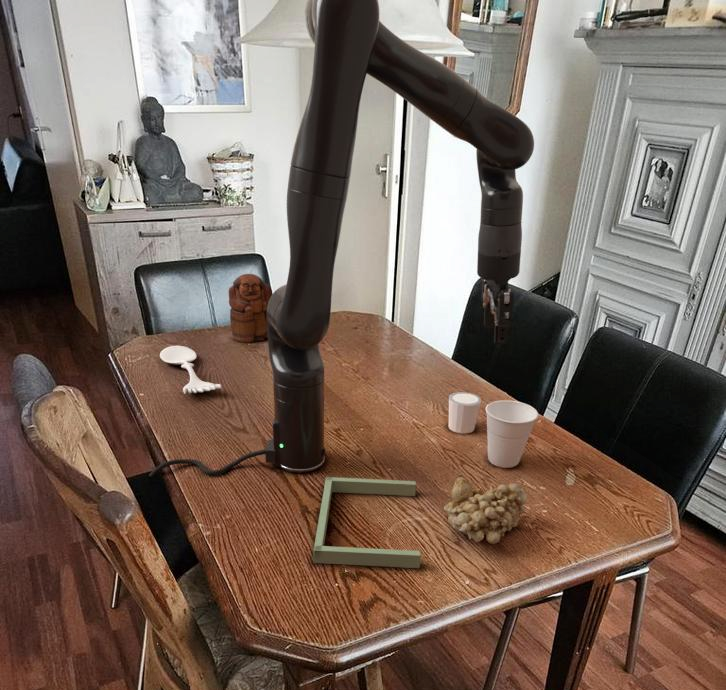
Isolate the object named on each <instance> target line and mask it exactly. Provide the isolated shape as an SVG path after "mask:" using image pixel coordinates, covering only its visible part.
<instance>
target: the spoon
mask: <svg viewBox="0 0 726 690" xmlns="http://www.w3.org/2000/svg"><path fill="white" fill-rule="evenodd" d="M159 357H160V359H161V360H162V361H163V362H165V363H167V364H170V365H176V366H177V365H178V366H180V365H181V366H180V367H181V368H182V369H185V370H187V372H188V374H189V382H188V383H187V384H185V385H184V386H183V388H182V393H183V394H184V395H187V394H192V393H193V394H197V393H201V394H203V393H204V392H211V391H216V390H217V389H218V390H219V389H220V390H221V389H222V384H220V383H212V382H208V381H203V380H201V379H200V378H199V377H198V375H197V374H196V372H195V370H194V369H193V368H194V367H195V364H194V363H192V362H194V361H195V360H196V359H197V353H196V352H195V351H194V350H193V349H192V348H190V347H187V346H185V345H170V346H168V347H165V348H163V349H162V350H161V351H160V353H159Z"/></svg>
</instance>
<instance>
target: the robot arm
mask: <svg viewBox="0 0 726 690" xmlns="http://www.w3.org/2000/svg"><path fill="white" fill-rule="evenodd" d="M304 23H305V29H306V31H307V34H308V37H309V38H310V40H311V42H312V44H313V45H314V51H313V63H312V64H313V65H312V76H311V83H310V84H311V85H310V89H309V94H308V97H307V98H308V99H307V102H306V105H305V108H304V111H303V115H302V118H301V120H300V124H299V127H298V130H297V134H296V137H295V141H294V144H293V148H292V152H291V153H292V154H291V159H290V166H289V175H288V182H287V189H286V190H287V191H286V221H287V232H288V241H289V242H288V243H289V269H288V273H287V274H288V275H287V280H286V284H284V285H282V286H280V287H278V288H277V289H276V290H275V291H274V292H272V296H271V297H270V299H269V302H268V305H267V334H268V339H267V346H268V357H269V362H270V366H271V372H272V388H273V409H274V418H273V419H272V420H273V421H272V439H268V441H267V444H266V446H265V448H264V449H261V450H256V451H253V452H249V453H246V454H244V455H242V456H240V457H238V458H237V459H236V460H234V461H232V462H230V463H228V464H227V465H225V466H223V467H222V468H219V469H216V470H215V469H214V470H211V469H209V468H207V467H206V466H205V465H204V464H203V463H202V462H201V461H199V460H197V459H187V458H181V459H180V458H179V459H172V460H168V461H165V462H163V463H160V464H159V465H157V466H156V467H154V469H152V471H151V472H150V473H149V475H148V476H149V477H155V476H156V475H157V474H158V473H159V472H160V471H162V470H163V469H165V468H167V467H170V466H173V465H183V464H184V465H185V464H188V465H195V466H197V467H198V468H199V469H200V470H201V471H202V472H203V473H204V474H206V475H211V476H215V475H216V476H217V475H221V474H225V473H226V472H227V471H229V470H231V469H232V468H235V467H236V466H237V465H239V464H241V463H242V462H244V461H246V460H248V459H252V458H254V457H258V456H262V455H264V456H265V463H266V464H267V463H269V464H274V468H275V469H276V468H277V469H281V470H284V471H286V472H288V473H289V472H290V473H295V474H304V473H305V474H306V473H311V472H314V471H316V470H318V469H320V468H321V467H323V466H324V464H325V461H326V455H325V453H326V447H325V365H324V361H323V358H322V354H321V350H320V343H321V342H322V341H323V340H324V339H325V337H326V336H327V334H328V330H329V327H330V322H331V311H332V296H333V295H332V294H333V281H334V280H333V279H334V270H335V263H336V258H337V253H338V250H339V249H338V248H339V243H340V237H341V231H342V225H343V219H344V215H345V209H346V205H347V199H348V193H349V187H350V182H351V177H352V175H351V174H352V167H353V161H354V153H355V146H356V140H357V130H358V122H359V113H360V105H361V99H362V94H363V90H364V85H365V81H366V78H367V75H368V76H370V77H372V78H373V79H375V80H376V81H378V82H380V83H381V84H383V85H384V86H386V87H387V88H389V89H390V90H391V91H393V92H394V93H395V94H397V95H398V96H399V97H401V98H403V99H404V100H405V101H406V102H408V103H409V104H410V105H411V106H413V107H414V108H415V109H416V110H417V111H419V112H421V113H422V115H425V116H426V117H427V118H428V119H430V120H431V121H432V122H434V123H435V124H436V125H437V126H439V127H440V128H442V129H443V130H445V132H447V133H448V134H450V135H451V136H453V137H454V138H457V139H458V140H460V141H464V142H466V143H468V144H470V145H471V146H472V147H474V148H475V149H476V153H475V154H476V167H477V174H478V182H479V188H480V193H481V199H480V216H479V217H480V219H479V221H480V222H479V229H478V236H477V261H476V262H477V263H476V264H477V265H476V273H477V276H478V277H479V278H481V279H482V281H481V297H480V300H481V302H482V306H483V309H484V311H483V316H484V317H483V326H484V328H486V329H487V328H488V329H489V328H494V334H493V335H494V336H493V341H494V345H497V346H501V345H506V344H507V342H508V328H509V326H512V325H513V323H514V300H515V298H514V297H515V293H514V291H513V290H511V286H509V281H510V280H511V279H512V280H513V279H514V278H516V277H517V276H519V274H520V271H521V270H520V269H521V256H522V243H523V242H522V241H523V229H522V227H523V226H522V223H523V221H522V220H523V208H524V207H523V204H524V192H523V188H522V186H521V185H520V184H519V182H518V181H517V175H516V173H517V172H516V170H518V169H520V168H522V167H523V166H525V165H526V164H527V163H528V162H529V160H530V159H531V157H532V156H533V153H534V150H535V138H534V135H533V132H532V130H531V128H530V127H529V126H528V124H526V123H525V122H524V121H523V120H522V119H521V118H519V117H518V116H517V115H515V114H513V113H512V112H510V111H509V110H507V109H506V108H503V107H502V106H500V105H498V104H497V103H495V102H493V101H492V100H490V99H489V98H487V97H486V95H484V94H483V93H482V92H481V91H480V90H479V89H477V88H476V87H475V86H474V85H472V84H471V83H470V82H469V81H468V80H466V79H465V78H464V77H462V76H461V75H460V74H459V73H458V72H456V71H455V70H453V69H452V68H451V67H450V66H448V65H446V64H445V63H443V62H441V61H439V60H437V59H435V58H433V57H432V56H430V55H428V54H426V53H425V52H422V51H421V50H419V49H417V48H416V47H414V46H412V45H411V44H409V43H407V42H406V41H405V40H403V39H401V37H399V36H398V35H396V34H395V33H394V32H392V31H391V30H390V29H389V28H388V27H386V26H385V24H383V23H382V21H381V20H380V4H379V0H306V3H305V7H304ZM503 314H504V318H503Z"/></svg>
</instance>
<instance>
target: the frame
mask: <svg viewBox="0 0 726 690" xmlns="http://www.w3.org/2000/svg"><path fill="white" fill-rule="evenodd" d="M416 492H417V481H416V480H399V479H397V480H396V479H376V478H357V477H333V476H326V477H325V480H324V487H323V493H322V498H321V503H320V511H319V515H318V521H317V528H316V533H315V539H314V546H313V564H327V565H329V564H330V565H348V566H363V567H367V566H368V567H385V568H386V567H387V568H406V569H407V568H408V569H420V566H421V556H422V555H421V554H422V553H421V550H411V549H410V550H409V549H391V548H389V549H388V548H373V547H372V548H371V547H370V548H369V547H351V546H350V547H349V546H334V545H333V546H329V545H325V542H326V535H327V528H328V522H329V516H330V509H331V501H332V497H333V495H332V494H333V493H343V494H362V495H363V494H364V495H380V496H381V495H382V496H384V495H385V496H403V497H416Z"/></svg>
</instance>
